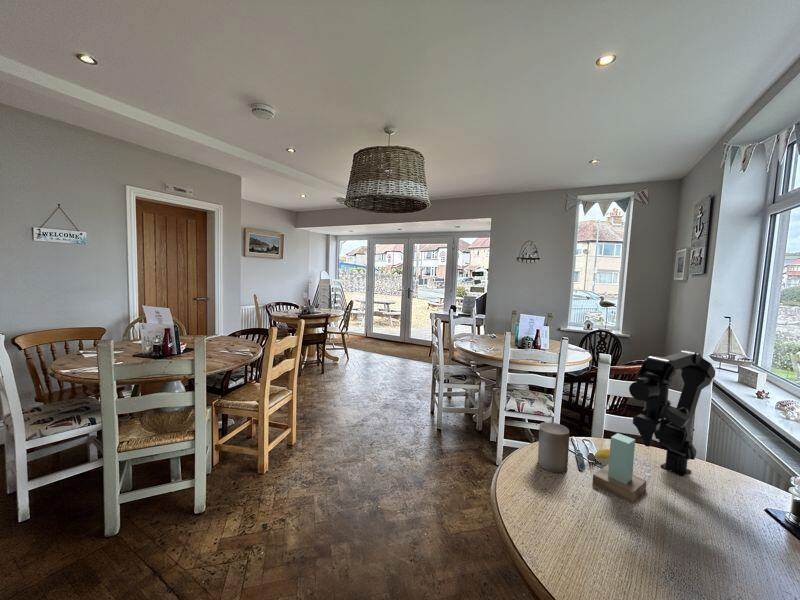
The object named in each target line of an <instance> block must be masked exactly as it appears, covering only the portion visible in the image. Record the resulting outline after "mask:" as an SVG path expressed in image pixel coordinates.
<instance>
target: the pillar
mask: <svg viewBox="0 0 800 600" xmlns="http://www.w3.org/2000/svg"><path fill="white" fill-rule="evenodd" d="M635 447H636V439H635V438H632V437H630V436H627V435H624V434H621V433H616V434H614V435H612V436H611V437H610V447H609V450H610V456H609V469H608V477H610V478H613V479H615V480H617V481H619V482H621V483H624V484H627V483H628V482H629V481H630V480H632V475H634V473H633V472H634V471H633V470H634V463H635V461H634V459H635V449H636V448H635Z"/></svg>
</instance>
